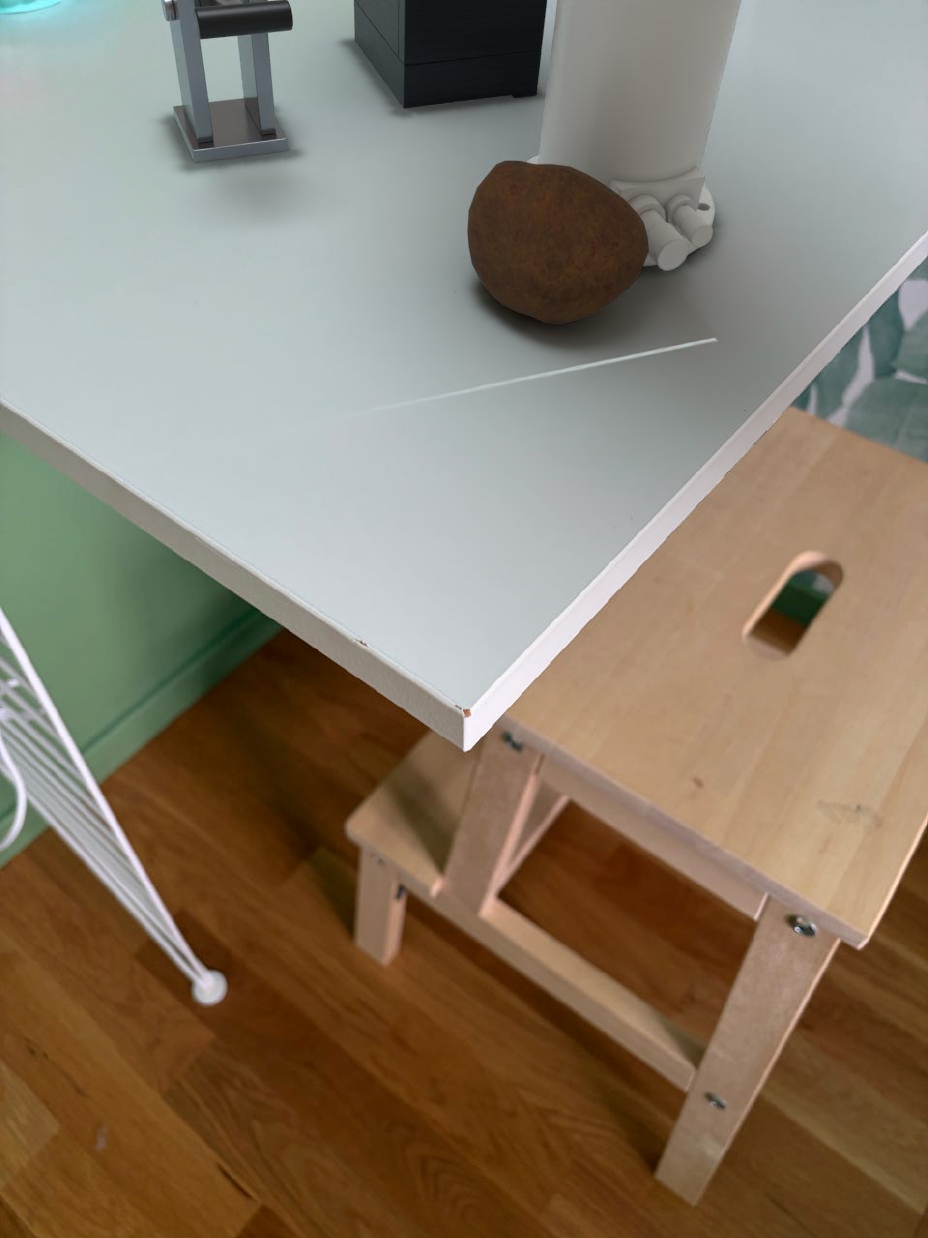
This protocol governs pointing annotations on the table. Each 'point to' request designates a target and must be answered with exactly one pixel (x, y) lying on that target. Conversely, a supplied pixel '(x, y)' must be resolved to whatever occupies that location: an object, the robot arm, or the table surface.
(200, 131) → the lever bracket
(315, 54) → the table surface
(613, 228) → the potato
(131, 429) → the table surface
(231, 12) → the lever
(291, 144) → the table surface
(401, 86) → the toaster
